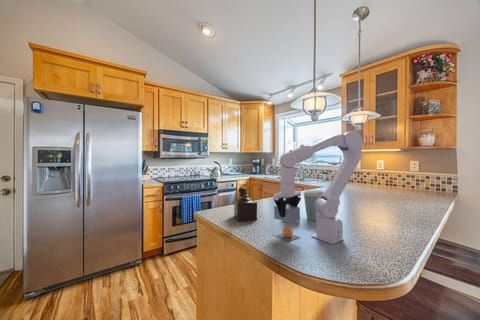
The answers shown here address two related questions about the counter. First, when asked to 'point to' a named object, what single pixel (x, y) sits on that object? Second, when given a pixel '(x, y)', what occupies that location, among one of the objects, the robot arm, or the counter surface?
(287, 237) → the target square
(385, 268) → the counter surface
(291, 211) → the blue-gray rectangular block
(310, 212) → the disposable coffee cup
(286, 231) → the ball
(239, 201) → the dark brown boxy bottle
